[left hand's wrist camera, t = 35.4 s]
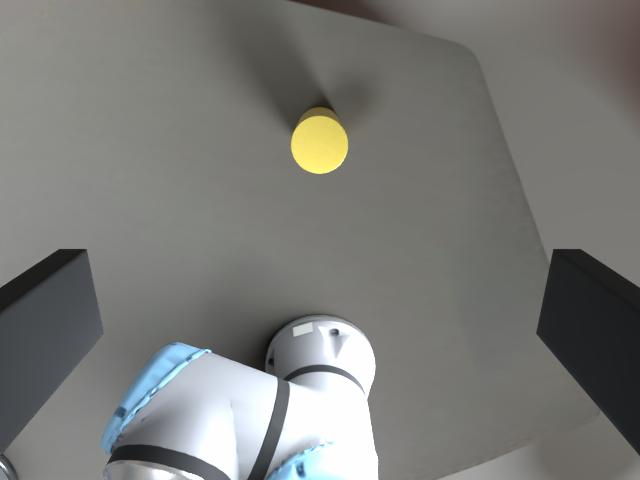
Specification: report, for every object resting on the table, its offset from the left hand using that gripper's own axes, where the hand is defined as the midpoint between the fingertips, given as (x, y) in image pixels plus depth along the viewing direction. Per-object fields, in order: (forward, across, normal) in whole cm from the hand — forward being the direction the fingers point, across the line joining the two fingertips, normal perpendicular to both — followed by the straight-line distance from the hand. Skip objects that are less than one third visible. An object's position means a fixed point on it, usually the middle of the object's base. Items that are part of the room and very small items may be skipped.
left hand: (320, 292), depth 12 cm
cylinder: (+41, 0, 0) cm, 41 cm away
